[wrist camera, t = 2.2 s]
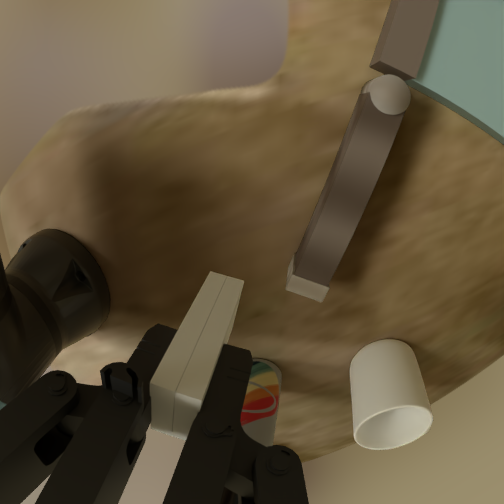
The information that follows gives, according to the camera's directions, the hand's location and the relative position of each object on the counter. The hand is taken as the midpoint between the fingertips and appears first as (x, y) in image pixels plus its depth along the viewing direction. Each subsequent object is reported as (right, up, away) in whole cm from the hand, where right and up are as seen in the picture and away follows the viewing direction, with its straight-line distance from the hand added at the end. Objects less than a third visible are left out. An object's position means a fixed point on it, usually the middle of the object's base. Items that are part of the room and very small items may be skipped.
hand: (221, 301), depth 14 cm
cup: (+19, -12, +21) cm, 30 cm away
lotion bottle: (+2, -13, +24) cm, 27 cm away
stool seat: (+23, +21, +4) cm, 31 cm away
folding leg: (+9, +8, +12) cm, 18 cm away
